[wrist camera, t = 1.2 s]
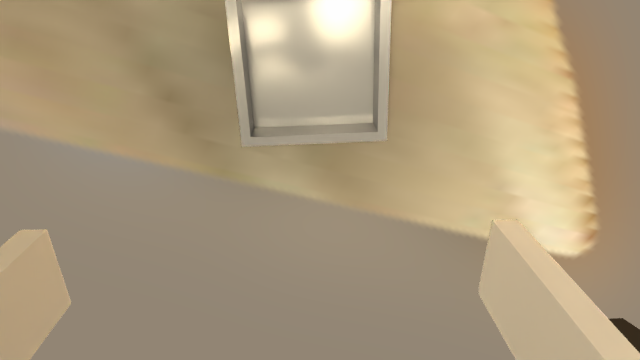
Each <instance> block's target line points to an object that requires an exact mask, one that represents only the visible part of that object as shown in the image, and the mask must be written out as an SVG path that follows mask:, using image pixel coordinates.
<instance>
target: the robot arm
mask: <svg viewBox="0 0 640 360" xmlns="http://www.w3.org/2000/svg"><path fill="white" fill-rule="evenodd" d="M478 293H479V296H480V297H481V299H482V301H483V302H484V304H485V306H486V308H487V310H488V311H489V313H490V315H491V317H492V318H493V320H494V322H495V324H496V325H497V327H498V329H499V331H500V333H501V334H502V336H503V338H504V340H505V342H506V343H507V345H508V347H509V349H510V350H511V352H512V354H513V356H514V357H515V359H516V360H640V329H638V328H637V327H635V326H633V325H632V324H630V323H629V322H627V321H626V320H624V319H623V318H621V319H620V318H618V319H608V318H607V317H606V316H605V315H604V314H603V313H602V312H601V310H600V309H599V308H598V307H597V306H596V305H595V304H594V303H593V302H592V301H591V299H590V298H589V297H588V296H587V295H586V294H585V293H584V292H583V291H582V290H581V289H580V288H579V286H578V285H577V284H576V283H575V282H574V281H573V280H572V279H571V278H570V276H569V275H568V274H567V273H566V272H565V271H564V270H563V269H562V268H561V267H560V265H559V264H558V263H557V262H556V261H555V260H554V259H553V258H552V257H551V256H550V255H549V253H548V252H547V251H546V250H545V249H544V248H543V247H542V246H541V245H540V244H539V242H538V241H537V240H536V239H535V238H534V237H533V236H532V235H531V234H530V233H529V232H528V230H527V229H526V228H525V227H524V226H523V225H522V224H521V223H520V222H519V221H518V220H517V219H516V220H492V224H491V229H490V234H489V239H488V244H487V249H486V254H485V259H484V264H483V269H482V274H481V279H480V284H479V289H478ZM70 305H71V300H70V297H69V294H68V291H67V288H66V285H65V282H64V279H63V276H62V273H61V270H60V267H59V264H58V261H57V258H56V255H55V252H54V249H53V246H52V243H51V240H50V237H49V234H48V231H47V229H42V230H19V231H18V232H17V233H16V234H15V235H14V236H12V237H11V238H10V239H9V240H8V241H7V242H5V243H4V244H3V245H2V246H1V247H0V360H30V359H31V357H32V356H33V355H34V353H35V352H36V351H37V349H38V348H39V347H40V345H41V344H42V343H43V341H44V340H45V339H46V337H47V336H48V334H49V333H50V331H51V330H52V329H53V328H54V326H55V325H56V323H57V322H58V321H59V320H60V318H61V317H62V315H63V314H64V313H65V311H66V310H67V308H68V307H69V306H70Z"/></svg>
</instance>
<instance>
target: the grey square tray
mask: <svg viewBox="0 0 640 360" xmlns="http://www.w3.org/2000/svg"><path fill="white" fill-rule="evenodd" d="M391 5H392V0H225V8H226V17H227V25H228V34H229V42H230V51H231V59H232V68H233V76H234V85H235V93H236V102H237V110H238V119H239V127H240V136H241V144H242V147H252V146H276V145H300V144H323V143H347V142H371V141H387V127H388V97H389V66H390V36H391Z"/></svg>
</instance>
